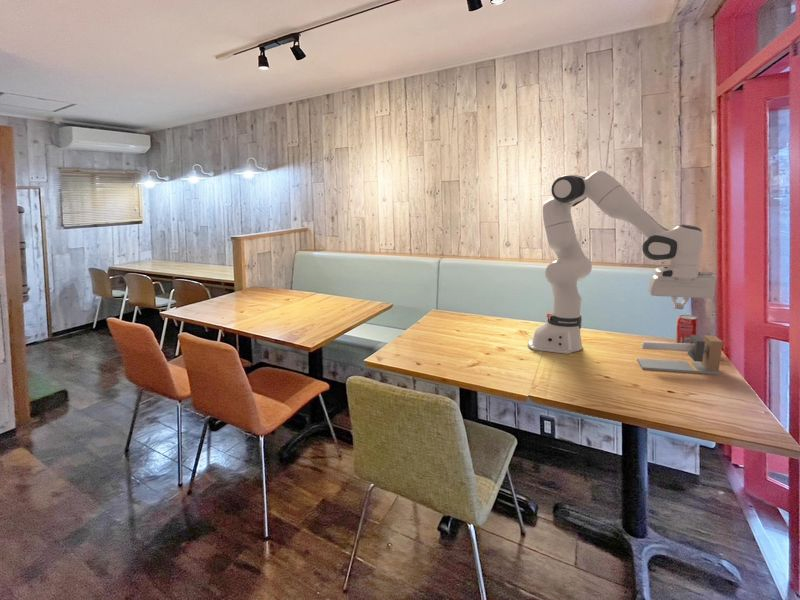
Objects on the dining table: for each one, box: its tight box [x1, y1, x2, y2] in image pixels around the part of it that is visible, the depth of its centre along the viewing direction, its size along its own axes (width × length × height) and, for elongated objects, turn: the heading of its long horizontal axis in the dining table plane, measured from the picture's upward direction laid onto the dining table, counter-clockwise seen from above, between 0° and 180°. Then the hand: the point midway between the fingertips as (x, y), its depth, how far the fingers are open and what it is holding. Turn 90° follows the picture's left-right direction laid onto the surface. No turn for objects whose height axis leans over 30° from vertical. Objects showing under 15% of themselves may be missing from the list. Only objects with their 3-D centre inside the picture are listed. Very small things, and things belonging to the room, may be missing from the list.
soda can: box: [674, 314, 699, 343], centre depth 185 cm, size 7×7×13 cm
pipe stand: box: [636, 334, 724, 376], centre depth 165 cm, size 25×9×12 cm, turn 73°
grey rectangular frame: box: [687, 334, 705, 363], centre depth 163 cm, size 2×8×8 cm, turn 164°
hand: (678, 308), depth 162 cm, fingers closed
